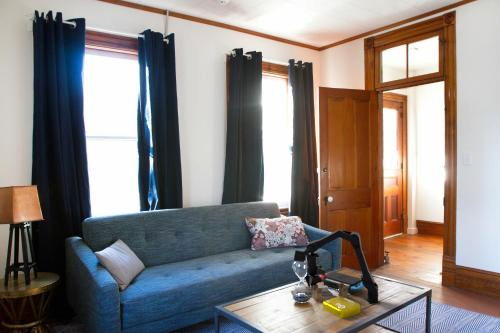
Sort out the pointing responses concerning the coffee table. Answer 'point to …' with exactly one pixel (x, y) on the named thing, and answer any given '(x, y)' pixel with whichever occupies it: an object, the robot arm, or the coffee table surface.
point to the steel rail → (308, 289)
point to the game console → (342, 281)
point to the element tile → (341, 307)
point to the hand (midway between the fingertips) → (311, 288)
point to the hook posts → (318, 292)
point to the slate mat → (312, 294)
